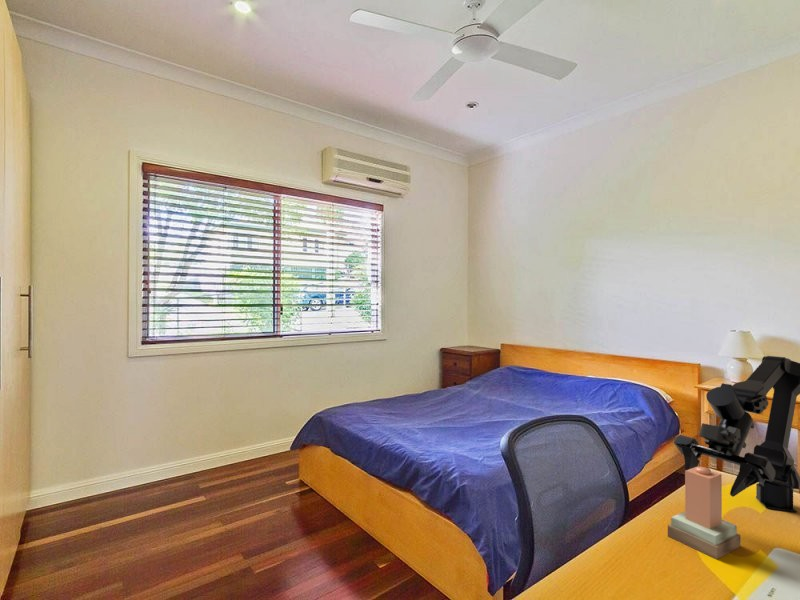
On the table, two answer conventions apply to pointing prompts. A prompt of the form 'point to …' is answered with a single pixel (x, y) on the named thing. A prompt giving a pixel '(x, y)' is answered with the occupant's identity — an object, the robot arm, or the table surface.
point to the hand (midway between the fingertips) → (708, 487)
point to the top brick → (703, 497)
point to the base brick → (705, 536)
